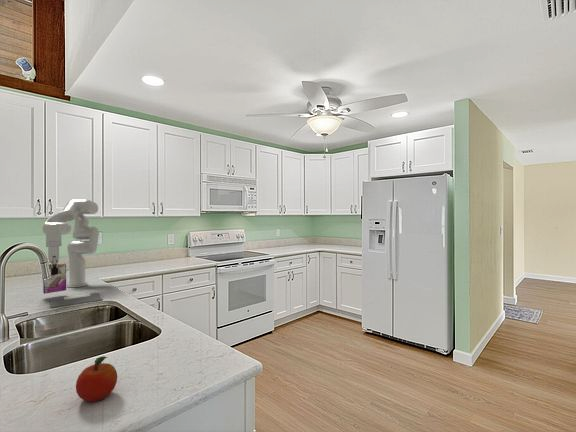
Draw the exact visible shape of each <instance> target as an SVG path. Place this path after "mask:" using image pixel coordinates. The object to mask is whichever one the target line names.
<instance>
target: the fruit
mask: <svg viewBox="0 0 576 432" xmlns="http://www.w3.org/2000/svg"><path fill="white" fill-rule="evenodd" d="M106 359H108V357H107V356H100V357H99V356H98V357H97V358H96V359H95V360H94V364H91V365H89V366H87V367H85V368H84V369H83V370H82V371H81V372H80V374H79V375H78V376H77V380H76V383H75V392H76V394H77V396H78V397H79V398H80V399H81V400H82V401H84V402H88V403H89V402H90V403H91V402H98V401H100V400H103V399H105V398H106V397H108V396H109V395H110V394H111V393H112V392H113V390H114V389H115V387H116V384H117V383H118V372H117V369H116V367H115V366H113V365H112V364H111V363H103V362H104V360H106Z"/></svg>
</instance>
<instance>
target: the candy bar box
mask: <svg viewBox="0 0 576 432" xmlns="http://www.w3.org/2000/svg"><path fill="white" fill-rule="evenodd" d="M49 265H50V272H51V268H52V265H51V264H49ZM57 268H58V274H57V275H51V278H49V279H46V280H44V279H43V278H42V292H43V294H44V295H45V294H49V293H50V294H52V293H58V292H64V291H67V264H66V263H65V262H64V263H57Z"/></svg>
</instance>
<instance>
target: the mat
mask: <svg viewBox="0 0 576 432" xmlns="http://www.w3.org/2000/svg"><path fill="white" fill-rule="evenodd" d="M101 301H103V297H102V296H101V295H100V294H99V292H93V293H83V294H76V295H70V296H62V297H56V298H50V299H49V305H50V309H54V308H55V309H56V308H61V307H67V306H73V305H74V306H75V305H80V304H81V305H82V304H89V303H94V302H101Z"/></svg>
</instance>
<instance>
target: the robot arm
mask: <svg viewBox="0 0 576 432" xmlns="http://www.w3.org/2000/svg"><path fill="white" fill-rule="evenodd" d="M98 211H99V206H98V204H97V203H96V202H94V201H92V200H89V199H70V200H68V202H67V203H66V204H65V206H64V207H63V209H62V210H61V211H59V212H57V213H55V214H53V215H51V216H49V217H48V218H47V219H46V220H45V222H44V223H43V225H42V232H43V234H44V235H45V247H46V248H47V260H49V263H50V265H52V268H51V275H57V274H58V268H57V264H59V261H60V247H62V235H68V234H69V233H70V232H71V231H72V238H73V239H74V240H73V241H70V242H69V243H68V244H67V253H68V254H67V255H68V272H69V273H68V279H69V281H68V282H69V283H68V284H67V283H66V288H80V287H84V286H88V285H89V283H88V281H86V258H85V257H84V256H83V255H93V254H95V253H96V252H97V248H98V243H99V234H100V233H99V232H100V231H99V228H98V227H96V226H89V224H90V223H89V222H90V221H89V219H88V217H86V216H85V215H96V214H97V213H98ZM72 221H74V225H73V229H72V226H71V224H70V223H68V222H72ZM49 263H48V264H49Z"/></svg>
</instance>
